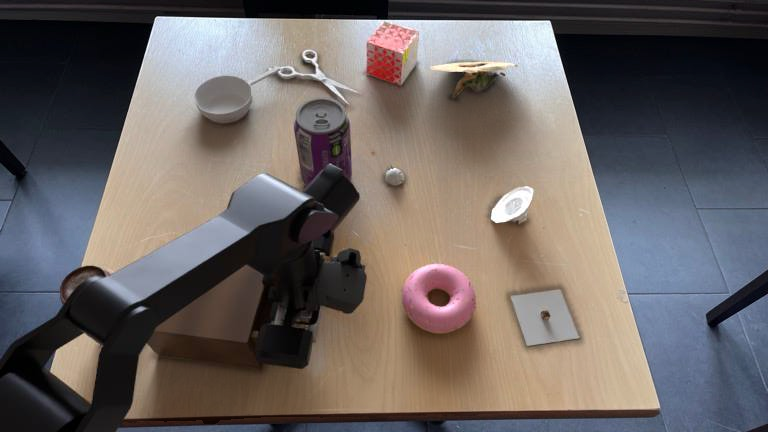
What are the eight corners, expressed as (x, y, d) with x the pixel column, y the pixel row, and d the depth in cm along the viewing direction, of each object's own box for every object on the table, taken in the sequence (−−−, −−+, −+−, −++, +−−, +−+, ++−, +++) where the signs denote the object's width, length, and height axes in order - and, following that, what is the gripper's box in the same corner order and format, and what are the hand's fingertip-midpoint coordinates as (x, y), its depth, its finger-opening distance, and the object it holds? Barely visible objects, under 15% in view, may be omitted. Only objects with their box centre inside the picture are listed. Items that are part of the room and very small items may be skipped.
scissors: (303, 45, 112) (374, 85, 105) (304, 48, 113) (374, 88, 106) (267, 69, 107) (339, 113, 100) (268, 72, 108) (339, 116, 101)
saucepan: (189, 104, 102) (183, 88, 99) (268, 68, 109) (265, 52, 106) (215, 135, 97) (210, 120, 94) (296, 96, 104) (294, 80, 101)
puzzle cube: (400, 85, 107) (403, 53, 100) (366, 74, 108) (366, 41, 102) (416, 63, 111) (419, 31, 104) (383, 52, 113) (384, 20, 106)
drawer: (330, 295, 78) (327, 269, 71) (315, 370, 71) (310, 349, 65) (213, 281, 79) (199, 254, 72) (187, 353, 72) (169, 330, 66)
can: (143, 351, 73) (102, 307, 62) (98, 350, 73) (47, 306, 61) (155, 311, 76) (117, 263, 65) (111, 310, 76) (66, 262, 65)
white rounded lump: (390, 169, 93) (391, 159, 91) (409, 179, 92) (410, 169, 90) (380, 180, 92) (380, 170, 90) (399, 190, 91) (400, 181, 89)
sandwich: (462, 82, 117) (469, 47, 114) (516, 100, 109) (526, 63, 105) (409, 91, 105) (414, 52, 102) (465, 112, 97) (473, 71, 93)
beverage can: (354, 194, 90) (352, 133, 78) (302, 198, 89) (292, 137, 77) (349, 156, 95) (347, 92, 83) (301, 159, 94) (291, 96, 82)
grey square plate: (560, 289, 80) (564, 283, 79) (579, 338, 76) (583, 333, 74) (510, 296, 79) (513, 290, 78) (527, 345, 75) (530, 341, 73)
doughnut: (422, 260, 83) (424, 246, 79) (485, 292, 80) (490, 279, 76) (387, 314, 77) (388, 302, 74) (454, 351, 74) (458, 340, 71)
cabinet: (281, 288, 79) (272, 256, 71) (260, 369, 72) (247, 343, 64) (188, 277, 80) (169, 243, 72) (158, 355, 73) (132, 328, 65)
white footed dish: (508, 234, 90) (517, 240, 82) (485, 215, 90) (492, 219, 82) (539, 200, 90) (552, 202, 82) (516, 180, 90) (527, 180, 82)
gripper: (347, 348, 53) (351, 394, 66) (371, 203, 64) (371, 266, 77) (241, 335, 54) (265, 382, 66) (282, 193, 64) (296, 258, 77)
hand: (304, 318), depth 72 cm, fingers closed, pressing on drawer
